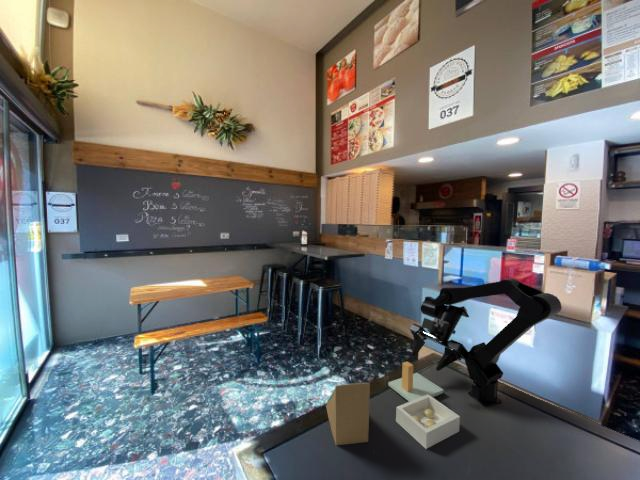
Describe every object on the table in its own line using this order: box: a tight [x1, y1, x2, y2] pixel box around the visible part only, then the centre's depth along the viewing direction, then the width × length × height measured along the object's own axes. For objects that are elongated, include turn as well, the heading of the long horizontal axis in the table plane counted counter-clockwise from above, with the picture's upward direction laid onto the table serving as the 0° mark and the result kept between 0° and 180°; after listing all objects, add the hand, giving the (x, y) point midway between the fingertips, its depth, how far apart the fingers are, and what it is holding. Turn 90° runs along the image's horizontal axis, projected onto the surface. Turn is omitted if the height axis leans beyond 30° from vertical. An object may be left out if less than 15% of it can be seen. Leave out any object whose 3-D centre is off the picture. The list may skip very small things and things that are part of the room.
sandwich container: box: [325, 382, 371, 446], centre depth 72 cm, size 9×15×15 cm, turn 8°
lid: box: [387, 361, 444, 402], centre depth 85 cm, size 13×11×10 cm
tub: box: [395, 394, 461, 450], centre depth 71 cm, size 12×10×4 cm
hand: (424, 363), depth 86 cm, fingers open, 9 cm apart
